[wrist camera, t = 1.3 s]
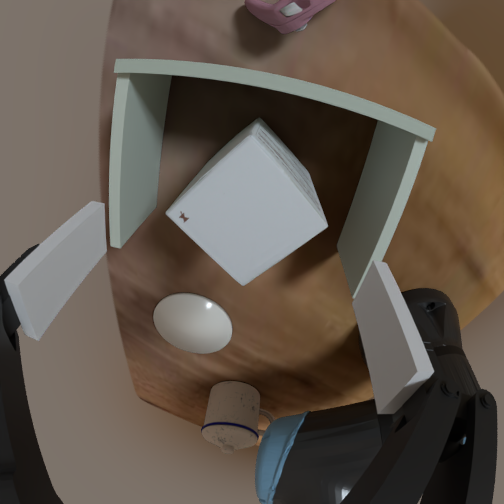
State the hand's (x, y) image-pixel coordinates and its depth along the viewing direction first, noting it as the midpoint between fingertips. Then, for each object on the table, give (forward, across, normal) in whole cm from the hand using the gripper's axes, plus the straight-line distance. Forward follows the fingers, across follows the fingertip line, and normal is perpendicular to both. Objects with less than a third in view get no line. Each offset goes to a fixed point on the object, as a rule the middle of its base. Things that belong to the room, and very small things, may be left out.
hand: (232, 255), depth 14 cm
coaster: (+17, +4, +23) cm, 29 cm away
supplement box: (+17, 0, 0) cm, 17 cm away
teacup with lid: (+17, -6, +38) cm, 42 cm away
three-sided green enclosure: (+17, 0, -1) cm, 17 cm away
